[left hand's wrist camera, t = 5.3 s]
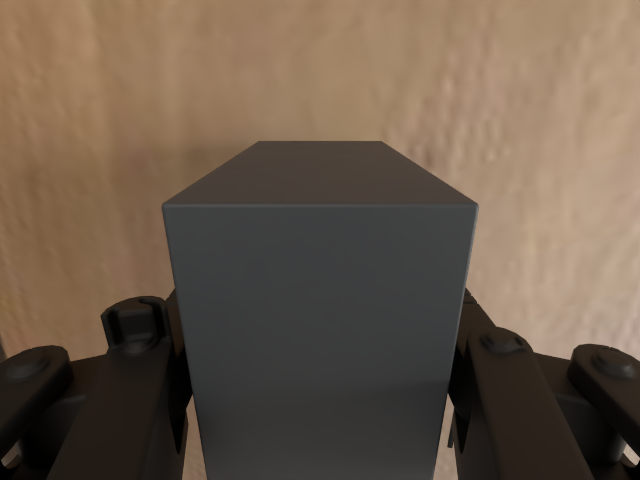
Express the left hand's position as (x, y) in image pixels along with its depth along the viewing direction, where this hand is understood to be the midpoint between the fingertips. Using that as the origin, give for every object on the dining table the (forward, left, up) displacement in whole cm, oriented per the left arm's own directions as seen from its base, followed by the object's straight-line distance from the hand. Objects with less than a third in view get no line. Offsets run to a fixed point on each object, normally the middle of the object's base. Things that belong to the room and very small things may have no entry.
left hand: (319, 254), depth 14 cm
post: (+22, +5, -1) cm, 22 cm away
